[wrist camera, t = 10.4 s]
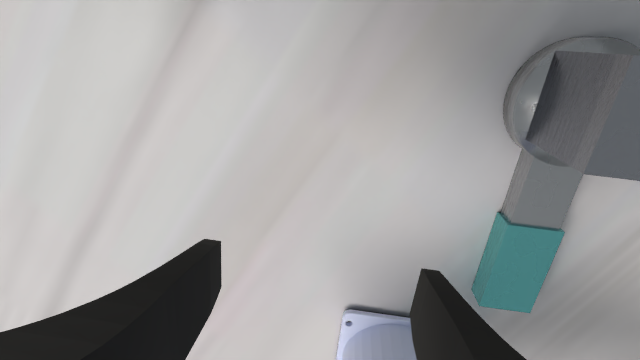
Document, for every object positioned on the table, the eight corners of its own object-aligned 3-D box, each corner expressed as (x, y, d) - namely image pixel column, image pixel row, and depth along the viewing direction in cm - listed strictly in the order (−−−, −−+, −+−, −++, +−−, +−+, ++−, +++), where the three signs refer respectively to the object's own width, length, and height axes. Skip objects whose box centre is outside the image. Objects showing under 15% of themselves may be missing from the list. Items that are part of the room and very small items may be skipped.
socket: (611, 149, 18) (700, 188, 13) (525, 139, 18) (583, 173, 14) (650, 60, 16) (768, 69, 12) (555, 50, 16) (633, 55, 12)
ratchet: (542, 299, 24) (578, 347, 20) (447, 286, 24) (465, 331, 20) (655, 44, 17) (736, 46, 14) (525, 30, 18) (570, 28, 14)
